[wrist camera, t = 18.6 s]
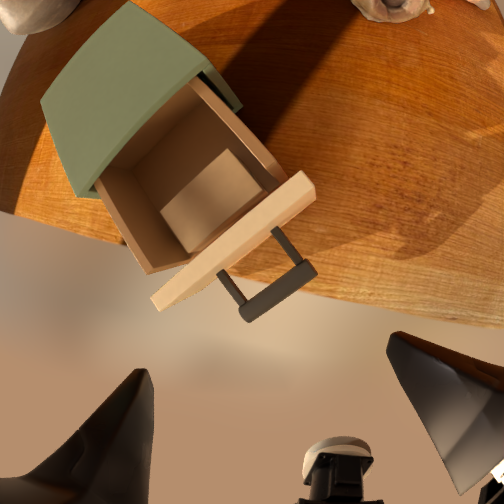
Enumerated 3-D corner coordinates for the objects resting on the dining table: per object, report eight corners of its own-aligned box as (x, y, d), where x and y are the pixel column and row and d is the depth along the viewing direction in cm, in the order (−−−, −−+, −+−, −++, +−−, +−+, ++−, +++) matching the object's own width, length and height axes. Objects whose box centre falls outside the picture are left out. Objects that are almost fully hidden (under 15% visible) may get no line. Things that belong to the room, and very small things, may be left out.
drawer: (350, 243, 20) (364, 250, 14) (230, 330, 23) (198, 364, 17) (217, 88, 22) (184, 51, 15) (125, 178, 25) (76, 168, 18)
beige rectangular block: (237, 155, 21) (227, 147, 18) (269, 194, 20) (262, 189, 18) (175, 212, 22) (159, 211, 20) (202, 250, 22) (188, 253, 20)
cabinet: (243, 106, 22) (207, 57, 14) (140, 203, 26) (76, 197, 17) (169, 38, 23) (129, 0, 15) (90, 119, 27) (40, 100, 18)
